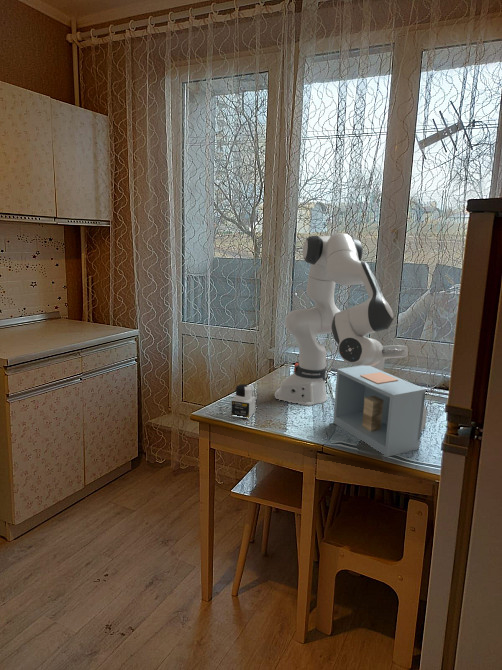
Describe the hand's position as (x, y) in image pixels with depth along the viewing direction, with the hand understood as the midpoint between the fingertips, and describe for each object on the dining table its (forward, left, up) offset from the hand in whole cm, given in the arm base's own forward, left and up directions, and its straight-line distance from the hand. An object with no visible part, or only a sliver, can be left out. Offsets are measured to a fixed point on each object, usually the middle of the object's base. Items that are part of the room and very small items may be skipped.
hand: (382, 353), depth 163 cm
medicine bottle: (-50, +3, -30) cm, 58 cm away
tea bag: (+15, +10, -30) cm, 36 cm away
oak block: (-2, -2, -27) cm, 27 cm away
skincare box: (0, +55, -30) cm, 63 cm away
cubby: (-1, -1, -30) cm, 30 cm away
